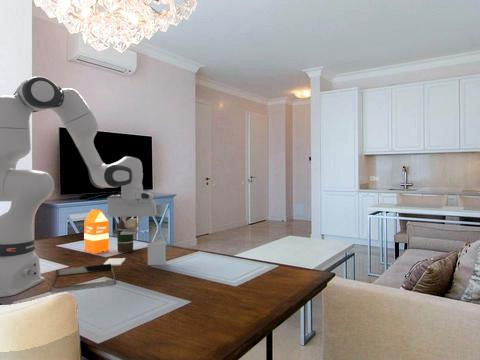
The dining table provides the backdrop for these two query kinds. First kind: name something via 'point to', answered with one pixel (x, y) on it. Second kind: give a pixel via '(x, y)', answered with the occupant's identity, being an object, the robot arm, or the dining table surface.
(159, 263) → the tile
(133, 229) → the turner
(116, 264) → the mat
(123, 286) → the dining table surface
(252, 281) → the dining table surface
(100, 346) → the dining table surface
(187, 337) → the dining table surface
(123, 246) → the beer bottle
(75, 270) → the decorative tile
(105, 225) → the orange juice
